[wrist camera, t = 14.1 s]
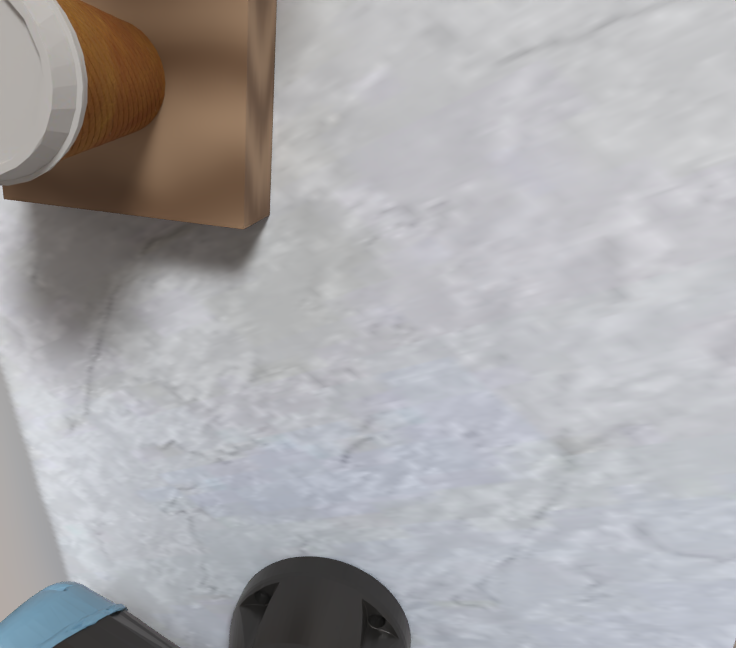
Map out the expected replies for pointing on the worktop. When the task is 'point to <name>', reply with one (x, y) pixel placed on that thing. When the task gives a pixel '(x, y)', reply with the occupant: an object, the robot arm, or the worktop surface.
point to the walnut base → (185, 122)
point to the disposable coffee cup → (69, 83)
